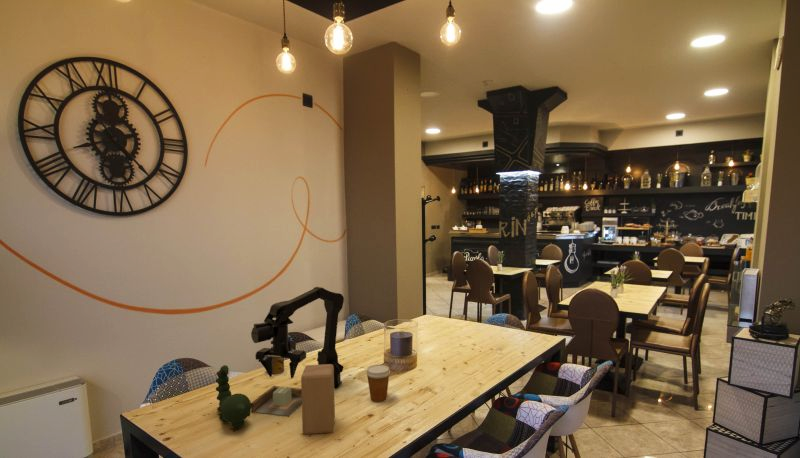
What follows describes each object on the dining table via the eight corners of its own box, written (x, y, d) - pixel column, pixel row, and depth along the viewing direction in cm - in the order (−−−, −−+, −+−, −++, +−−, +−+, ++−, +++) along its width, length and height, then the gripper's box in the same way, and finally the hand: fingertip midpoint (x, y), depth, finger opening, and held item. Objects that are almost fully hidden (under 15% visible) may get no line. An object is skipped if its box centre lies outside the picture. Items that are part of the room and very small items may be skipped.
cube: (285, 406, 150) (284, 393, 150) (273, 405, 151) (272, 392, 151) (291, 400, 155) (291, 387, 154) (280, 399, 156) (279, 386, 156)
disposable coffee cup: (372, 406, 150) (371, 375, 149) (362, 396, 158) (362, 366, 158) (395, 400, 154) (394, 370, 154) (384, 391, 163) (383, 362, 162)
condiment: (286, 373, 184) (286, 347, 184) (268, 377, 179) (267, 351, 179) (282, 368, 190) (281, 343, 190) (263, 372, 185) (263, 346, 185)
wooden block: (306, 420, 141) (305, 364, 140) (335, 418, 142) (333, 362, 141) (302, 435, 131) (300, 375, 130) (332, 433, 132) (331, 374, 131)
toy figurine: (210, 417, 147) (229, 440, 128) (207, 365, 148) (226, 380, 129) (236, 409, 153) (259, 429, 134) (233, 359, 154) (255, 372, 135)
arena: (307, 397, 158) (307, 389, 158) (288, 416, 143) (288, 407, 143) (273, 394, 162) (273, 385, 162) (251, 412, 147) (250, 403, 147)
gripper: (312, 332, 158) (313, 371, 158) (270, 329, 162) (271, 367, 162) (298, 340, 147) (299, 382, 147) (254, 337, 151) (255, 378, 152)
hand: (281, 377), depth 152 cm, fingers open, 9 cm apart
